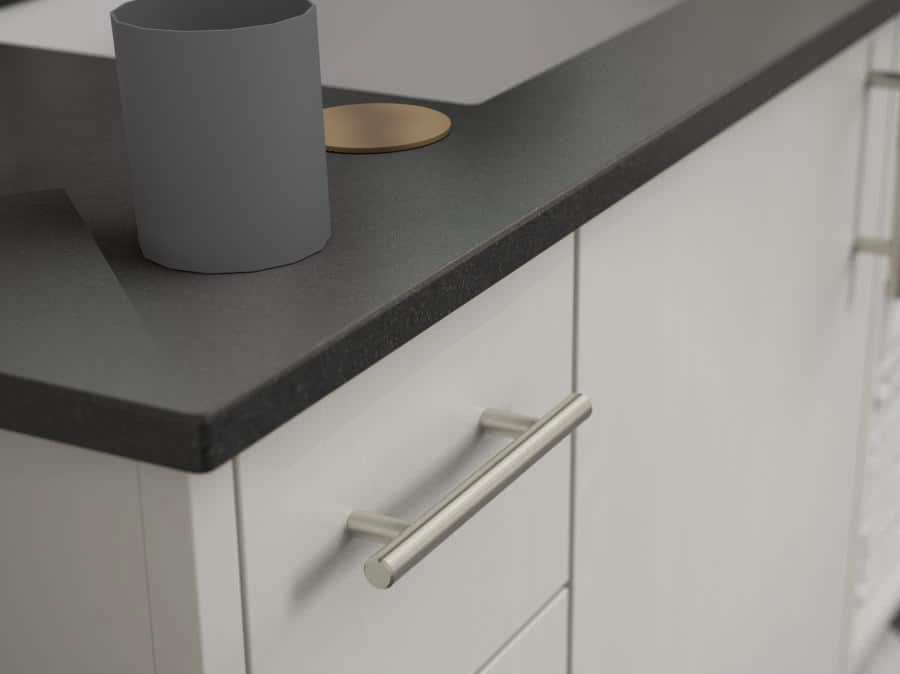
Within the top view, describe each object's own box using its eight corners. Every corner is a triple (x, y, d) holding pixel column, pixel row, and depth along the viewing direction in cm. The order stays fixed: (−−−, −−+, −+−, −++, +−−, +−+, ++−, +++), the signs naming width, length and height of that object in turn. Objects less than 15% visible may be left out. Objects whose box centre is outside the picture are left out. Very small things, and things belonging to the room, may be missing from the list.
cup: (102, 260, 70) (70, 23, 66) (197, 201, 77) (174, -17, 72) (278, 282, 68) (258, 37, 63) (361, 219, 75) (348, -6, 70)
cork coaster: (316, 161, 83) (316, 155, 82) (270, 119, 90) (270, 114, 89) (475, 140, 85) (475, 135, 85) (418, 101, 92) (418, 96, 92)
